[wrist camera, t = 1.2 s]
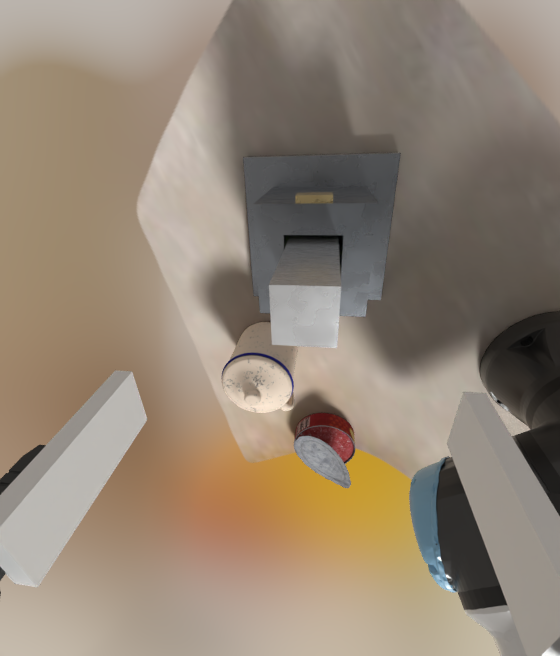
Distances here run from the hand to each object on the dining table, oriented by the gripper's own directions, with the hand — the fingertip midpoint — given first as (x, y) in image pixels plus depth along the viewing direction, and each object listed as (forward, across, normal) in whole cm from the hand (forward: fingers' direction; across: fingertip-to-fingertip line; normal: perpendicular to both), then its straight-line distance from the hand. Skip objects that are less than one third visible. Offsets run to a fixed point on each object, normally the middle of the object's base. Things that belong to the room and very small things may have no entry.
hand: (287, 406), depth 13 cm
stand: (+30, 0, 0) cm, 30 cm away
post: (+28, 0, 0) cm, 28 cm away
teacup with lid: (+30, +6, +18) cm, 36 cm away
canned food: (+30, -2, +34) cm, 46 cm away
